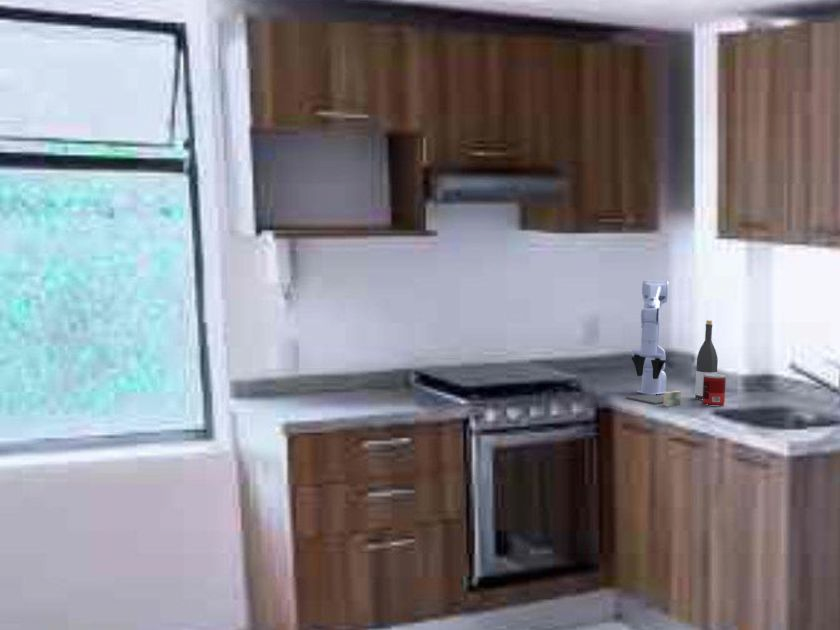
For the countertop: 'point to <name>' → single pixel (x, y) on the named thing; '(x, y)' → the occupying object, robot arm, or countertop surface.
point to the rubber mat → (647, 398)
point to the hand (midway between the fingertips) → (647, 377)
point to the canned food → (714, 389)
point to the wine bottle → (705, 360)
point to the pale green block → (672, 398)
